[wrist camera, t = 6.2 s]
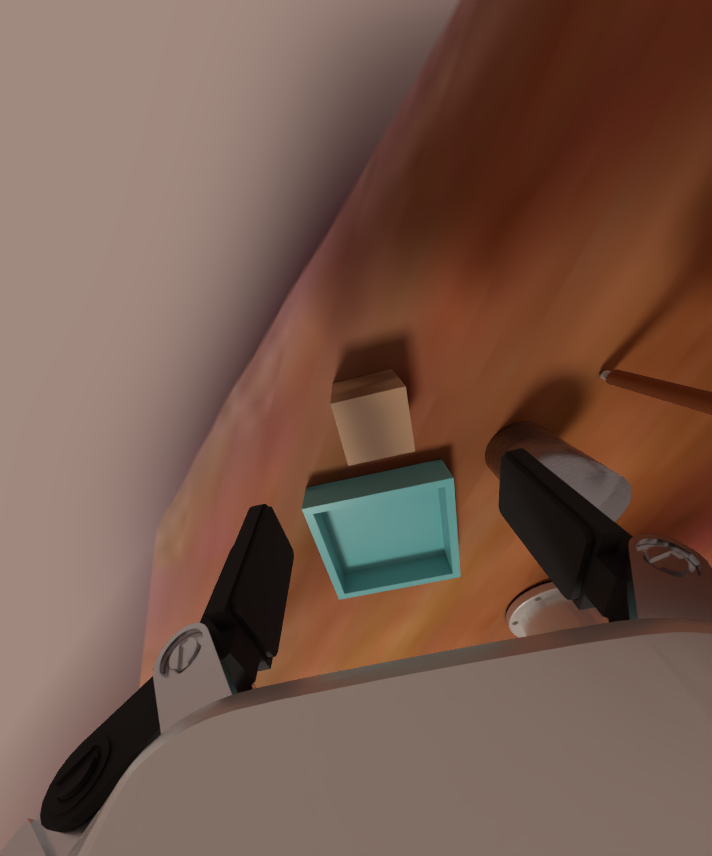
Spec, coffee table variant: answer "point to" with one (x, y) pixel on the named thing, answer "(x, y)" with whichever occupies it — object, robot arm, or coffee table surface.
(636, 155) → the coffee table surface
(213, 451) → the coffee table surface
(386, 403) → the walnut block
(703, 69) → the coffee table surface
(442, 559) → the teal tray
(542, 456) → the metal tin
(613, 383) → the magnifying glass
